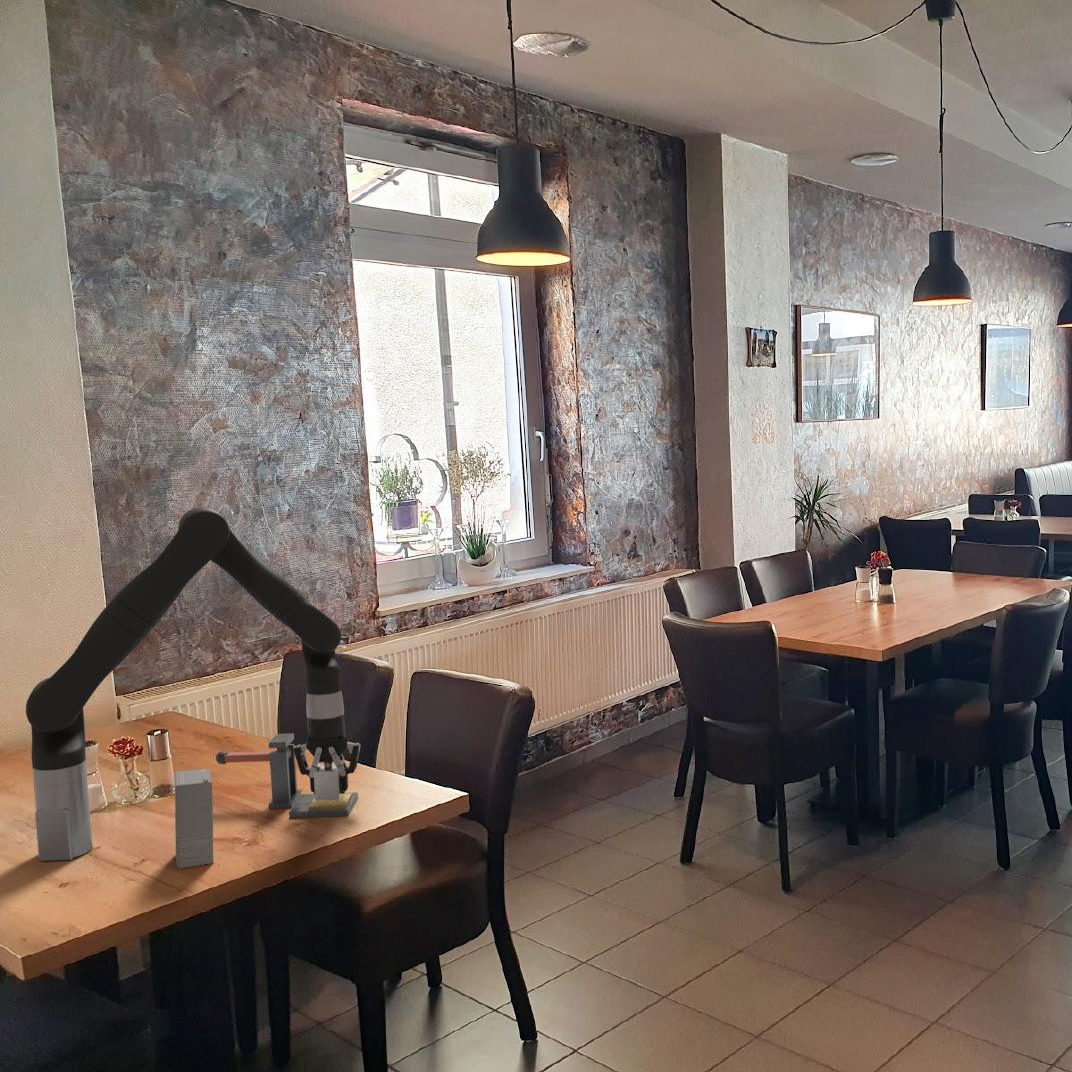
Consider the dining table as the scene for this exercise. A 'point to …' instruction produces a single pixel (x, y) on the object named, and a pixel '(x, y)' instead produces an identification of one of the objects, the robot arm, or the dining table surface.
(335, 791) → the block
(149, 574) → the robot arm
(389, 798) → the dining table surface
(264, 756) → the press lever
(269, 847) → the dining table surface
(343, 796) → the press bed
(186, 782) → the skincare box
